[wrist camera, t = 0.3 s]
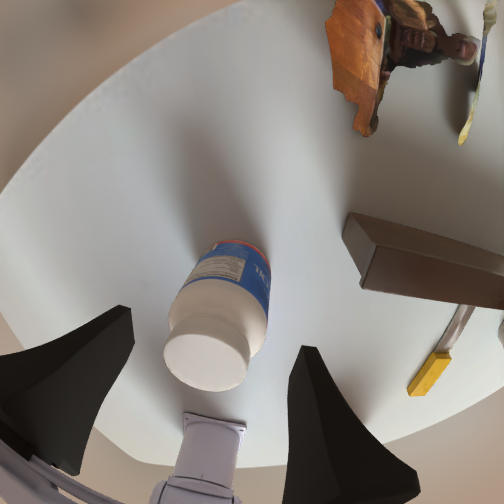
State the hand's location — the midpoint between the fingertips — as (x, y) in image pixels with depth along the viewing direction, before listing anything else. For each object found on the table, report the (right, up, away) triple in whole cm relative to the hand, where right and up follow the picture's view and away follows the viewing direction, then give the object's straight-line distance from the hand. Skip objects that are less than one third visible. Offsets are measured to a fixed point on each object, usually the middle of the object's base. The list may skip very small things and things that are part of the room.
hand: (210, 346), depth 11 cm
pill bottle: (0, +3, +10) cm, 10 cm away
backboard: (+17, +4, +7) cm, 19 cm away
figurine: (+13, +16, +3) cm, 21 cm away
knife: (+21, -5, +11) cm, 25 cm away
